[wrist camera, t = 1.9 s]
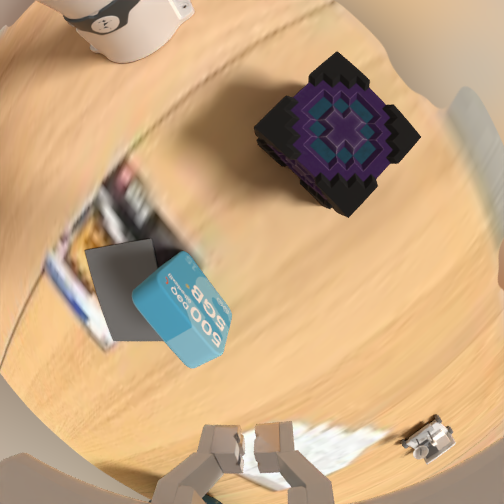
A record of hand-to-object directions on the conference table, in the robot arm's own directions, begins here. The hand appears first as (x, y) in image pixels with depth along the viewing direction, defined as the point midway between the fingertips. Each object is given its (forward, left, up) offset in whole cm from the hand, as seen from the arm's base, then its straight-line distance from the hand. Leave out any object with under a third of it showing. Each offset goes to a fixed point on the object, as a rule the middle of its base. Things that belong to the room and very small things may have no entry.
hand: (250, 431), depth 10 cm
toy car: (+55, +38, -30) cm, 73 cm away
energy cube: (-14, +10, -29) cm, 34 cm away
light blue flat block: (+4, -10, -29) cm, 31 cm away
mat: (+4, -22, -29) cm, 37 cm away
